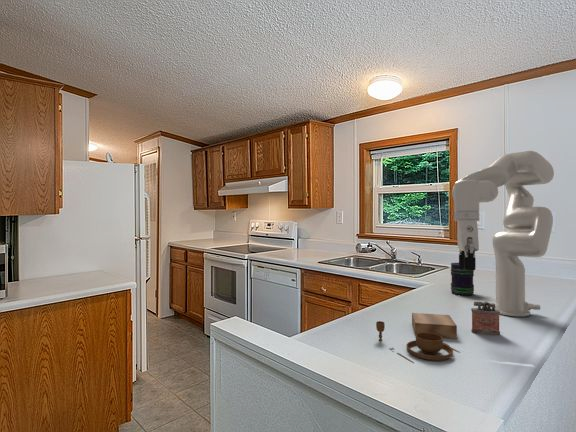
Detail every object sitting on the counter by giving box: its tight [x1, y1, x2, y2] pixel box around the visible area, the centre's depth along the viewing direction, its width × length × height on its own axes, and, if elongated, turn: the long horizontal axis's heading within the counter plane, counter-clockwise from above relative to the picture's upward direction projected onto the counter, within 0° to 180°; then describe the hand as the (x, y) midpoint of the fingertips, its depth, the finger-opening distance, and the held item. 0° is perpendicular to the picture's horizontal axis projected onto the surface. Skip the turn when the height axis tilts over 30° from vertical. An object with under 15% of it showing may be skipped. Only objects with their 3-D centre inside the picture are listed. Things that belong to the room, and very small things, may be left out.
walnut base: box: [411, 312, 458, 340], centre depth 113 cm, size 12×12×4 cm
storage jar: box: [450, 262, 475, 297], centre depth 165 cm, size 10×10×15 cm
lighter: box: [470, 301, 501, 336], centre depth 111 cm, size 8×3×10 cm, turn 71°
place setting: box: [375, 320, 461, 364], centre depth 99 cm, size 18×20×6 cm
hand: (466, 267), depth 116 cm, fingers open, 9 cm apart
